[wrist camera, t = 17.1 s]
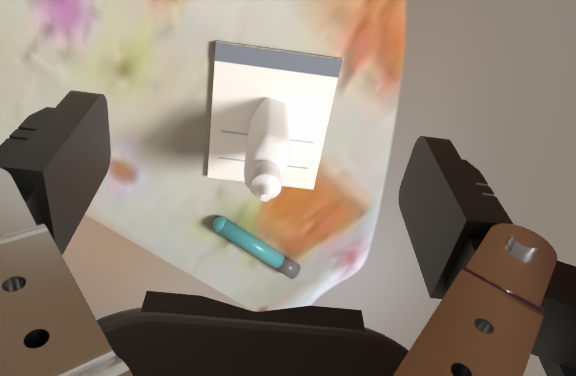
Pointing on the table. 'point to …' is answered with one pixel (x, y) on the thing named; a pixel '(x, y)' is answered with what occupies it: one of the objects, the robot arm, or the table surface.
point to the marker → (256, 247)
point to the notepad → (277, 85)
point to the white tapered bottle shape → (267, 149)
